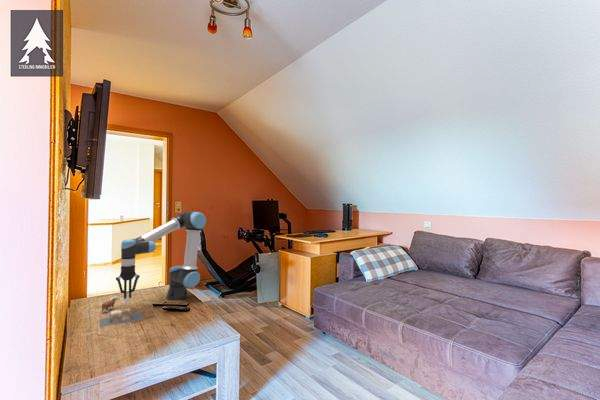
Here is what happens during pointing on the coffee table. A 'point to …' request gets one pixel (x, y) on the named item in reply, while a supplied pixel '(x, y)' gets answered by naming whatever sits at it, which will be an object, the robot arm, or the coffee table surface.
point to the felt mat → (132, 318)
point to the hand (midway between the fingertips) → (127, 303)
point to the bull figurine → (109, 304)
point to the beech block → (119, 315)
